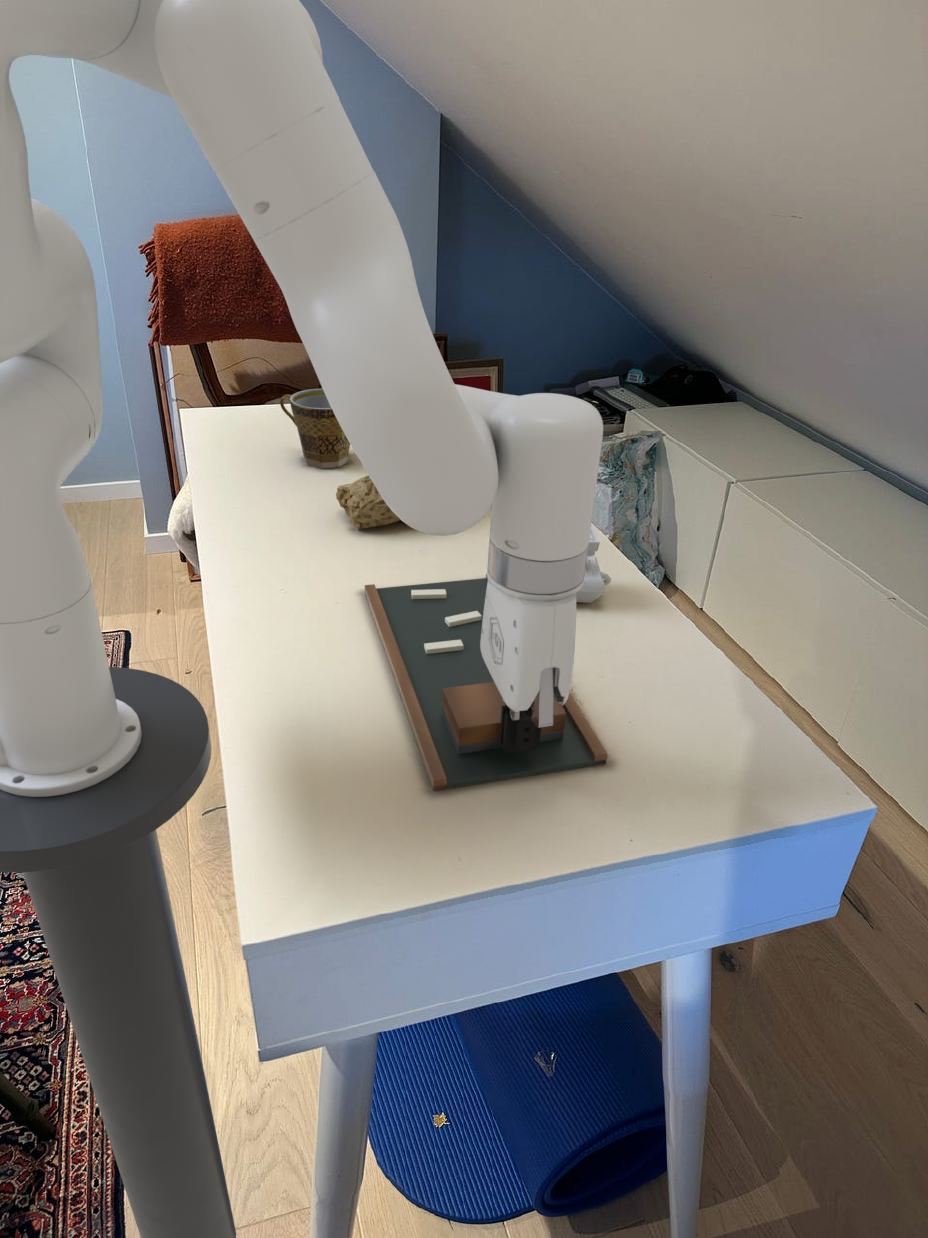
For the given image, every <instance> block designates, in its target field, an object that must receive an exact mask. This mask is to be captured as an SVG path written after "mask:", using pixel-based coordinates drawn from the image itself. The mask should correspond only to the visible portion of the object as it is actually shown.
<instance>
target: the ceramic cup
mask: <svg viewBox="0 0 928 1238" xmlns="http://www.w3.org/2000/svg"><path fill="white" fill-rule="evenodd" d="M285 399H286V400H288V401H289V404H290V409H291V412H290V411H288V409H287V408H286V406H285V403H284V401H285ZM279 406H280V408H281V410H282V411H283V412H284V414H285V415H286V416H287V417H288V418H289V419H290V420H291V421H292V422H293V424H294V426H295V427H296V428H297V429H296V430H297V434H298V436H299V440H300V446H301V451H302V454H303V459H304V461H305V463H306V464H307V466H309V467H313V468H317V469H321V470H324V469H335V468H341V467H342V466H343V465H345V464H348V461H349V455H350V448H351V444H350V443H349V441H348V439H347V437H346V435H345V434H344V432H343V430H342V428H341V426H340V424H339V422H338V420H337V418H336V416H335V414H334V412H333V410H332V408H331V406H330V404H329V402H328V400H327V397H326V395H325V393H324V390H323V388H313V389H312V388H309V389H304V390H301V391H300V390H299V391H298V392H295V393H293V394H284V395H282V396H281V398H280V400H279Z"/></svg>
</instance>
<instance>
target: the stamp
mask: <svg viewBox="0 0 928 1238" xmlns="http://www.w3.org/2000/svg"><path fill="white" fill-rule="evenodd" d="M600 543H601V542H600V539H599V537H598V535H597V532H596V530H595V528H594V525H591V531H590V538H589V546H588V554H587V562H586V569H585V576H584V584H583V586H582V588H581V589H580V590H579V591H578V592H577V593H576V603H593V602H594V601H595V600H596V599H598V598H600V597H602V595H603V594H605V593H606V586H608V585H610V583H611V581H612V578H611V577H610V574H608V573H606V572H602V571H601V569H600V565H599V562H598V561H599V560H598V558H597V557H596V556H595V555H596V552H598V551H599V547H600Z"/></svg>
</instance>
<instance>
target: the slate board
mask: <svg viewBox="0 0 928 1238" xmlns="http://www.w3.org/2000/svg"><path fill="white" fill-rule="evenodd" d="M487 583H488V577H487V573H485V577H483V578H473V579H462V580H452V581H441V582H431V583H420V584H410V585H399V586H389V587H379V588H376V587H377V586H376V585H375V583H373V584H365V585H364V596H365V599H366V601H367V604H368V608H369V610H370V613H371V616H372V619H373V621H374V625H375V627H376V630H377V633H378V637H379V640H380V642H381V645H382V648H383V650H384V653H385V656H386V659H387V663H388V665H389V667H390V671H391V673H392V676H393V679H394V682H395V685H396V688H397V691H398V693H399V697H400V699H401V702H402V706H403V708H404V711H405V714H406V716H407V720H408V722H409V725H410V728H411V731H412V734H413V737H414V740H415V743H416V746H417V748H418V752H419V755H420V757H421V760H422V763H423V766H424V769H425V771H426V772H425V773H426V775H427V777H428V781H429V783H430V786H431V789H432V791H433V792H434V791H435V792H436V791H442V790H448V789H454V788H460V787H467V786H473V785H478V784H479V785H480V784H485V783H492V782H499V781H504V780H511V779H519V778H524V777H530V776H537V775H543V774H549V773H557V772H562V771H569V770H575V769H582V768H589V767H592V766H593V767H595V766H600V765H606V764H607V760H608V751H606V749H605V747H604V745H603V744H602V742H601V741H600V739H599V737H598V735H597V734H596V733H595V731H594V729H593V728H592V726H591V725H590V723H589V721H588V719H587V717H586V716H585V715H584V713H583V711H582V710H581V709H580V707H579V705H578V704H577V702H576V701H575V699H574V697H573V696H572V694H571V691H570V692H569V696H568V699H567V701H566V703H565V704H564V705H563V706H562V707H563V709H564V710H565V712H566V719H565V726H564V733H563V739H558V740H551V741H544V742H540V744H539V747H538V748H536V749H532V750H525V751H518V752H512V753H506V752H505V751H504V749H503V748H497V749H491V750H484V751H477V752H470V753H464V754H458V752H457V750H456V747H455V745H454V742H453V740H452V738H451V735H450V733H449V730H448V728H447V725H446V723H445V720H444V718H443V715H442V695H443V688H450V687H458V686H466V685H473V684H481V683H489V682H494V680H493V678H492V676H491V674H490V672H489V670H488V668H487V666H486V664H485V661H484V659H483V657H482V653H481V649H480V641H481V631H482V621H483V613H484V604H485V596H486V589H487ZM431 589H445V590H446V594H447V595H446V598H438V599H412V596H411V590H431ZM473 611H478V612H479V613H480V614H481V616H482V619H481V620H479V621H475V622H470V623H465V624H461V625H456V626H451V627H449V626H448V625H447V624H446V623H445V617H449V616H454V615H459V614H464V613H469V612H473ZM452 640H461V641H462V643H463V645H464V648H463V650H459V651H450V652H441V653H433V654H426V651H425V649H424V644H425V643H434V642H443V641H452Z"/></svg>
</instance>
